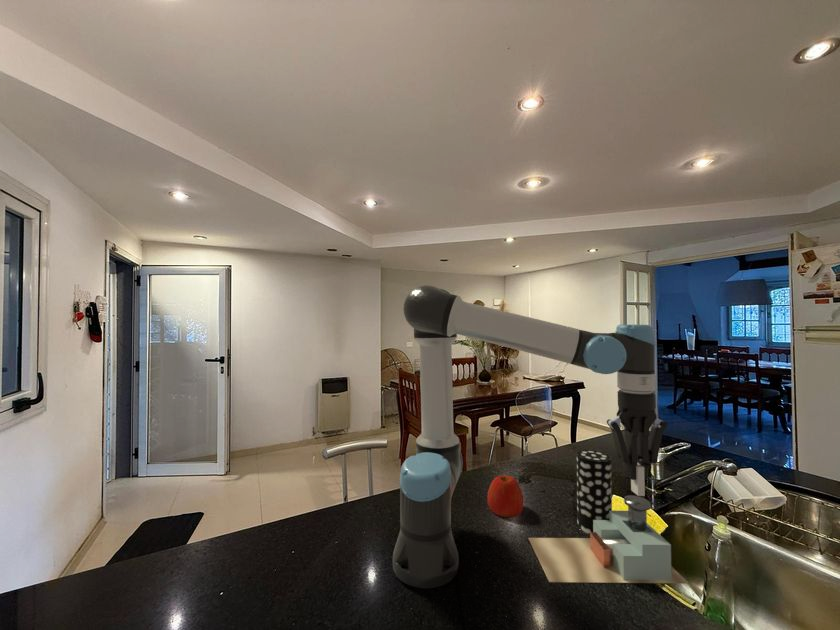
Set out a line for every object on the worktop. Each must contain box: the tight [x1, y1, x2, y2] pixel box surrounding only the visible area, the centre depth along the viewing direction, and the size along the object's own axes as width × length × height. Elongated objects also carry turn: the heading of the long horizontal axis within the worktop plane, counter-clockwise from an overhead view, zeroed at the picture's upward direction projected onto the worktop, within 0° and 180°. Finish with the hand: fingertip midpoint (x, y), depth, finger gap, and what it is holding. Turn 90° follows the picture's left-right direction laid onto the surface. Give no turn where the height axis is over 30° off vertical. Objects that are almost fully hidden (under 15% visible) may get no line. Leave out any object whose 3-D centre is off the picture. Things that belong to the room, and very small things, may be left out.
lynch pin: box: [589, 532, 631, 568], centre depth 81 cm, size 13×6×4 cm, turn 89°
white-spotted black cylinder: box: [576, 449, 613, 535], centre depth 93 cm, size 8×8×20 cm
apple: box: [486, 475, 524, 518], centre depth 103 cm, size 10×10×10 cm
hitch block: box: [593, 509, 672, 580], centre depth 81 cm, size 10×13×7 cm
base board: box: [528, 537, 689, 584], centre depth 81 cm, size 29×15×1 cm, turn 89°
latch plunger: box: [623, 494, 652, 531], centre depth 81 cm, size 5×5×6 cm
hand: (637, 492), depth 81 cm, fingers closed
